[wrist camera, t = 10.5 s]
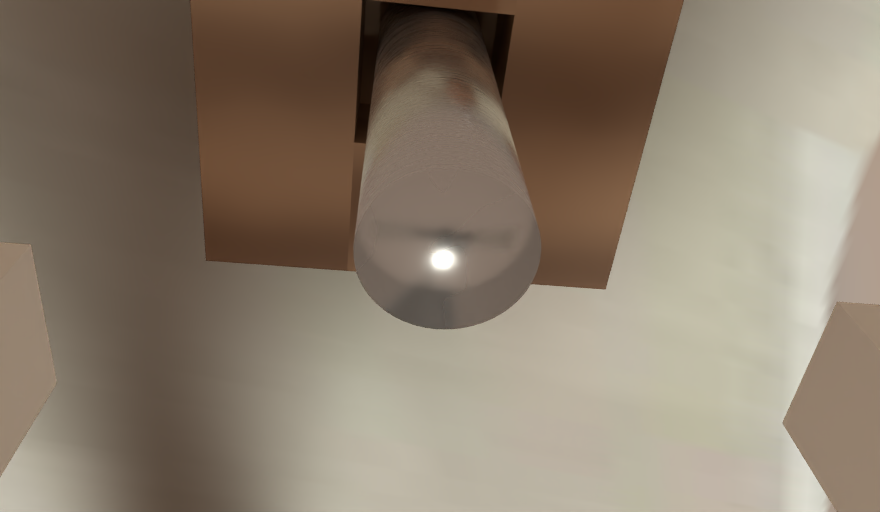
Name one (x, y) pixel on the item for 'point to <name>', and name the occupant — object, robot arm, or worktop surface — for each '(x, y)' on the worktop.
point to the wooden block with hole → (348, 108)
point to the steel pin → (441, 178)
